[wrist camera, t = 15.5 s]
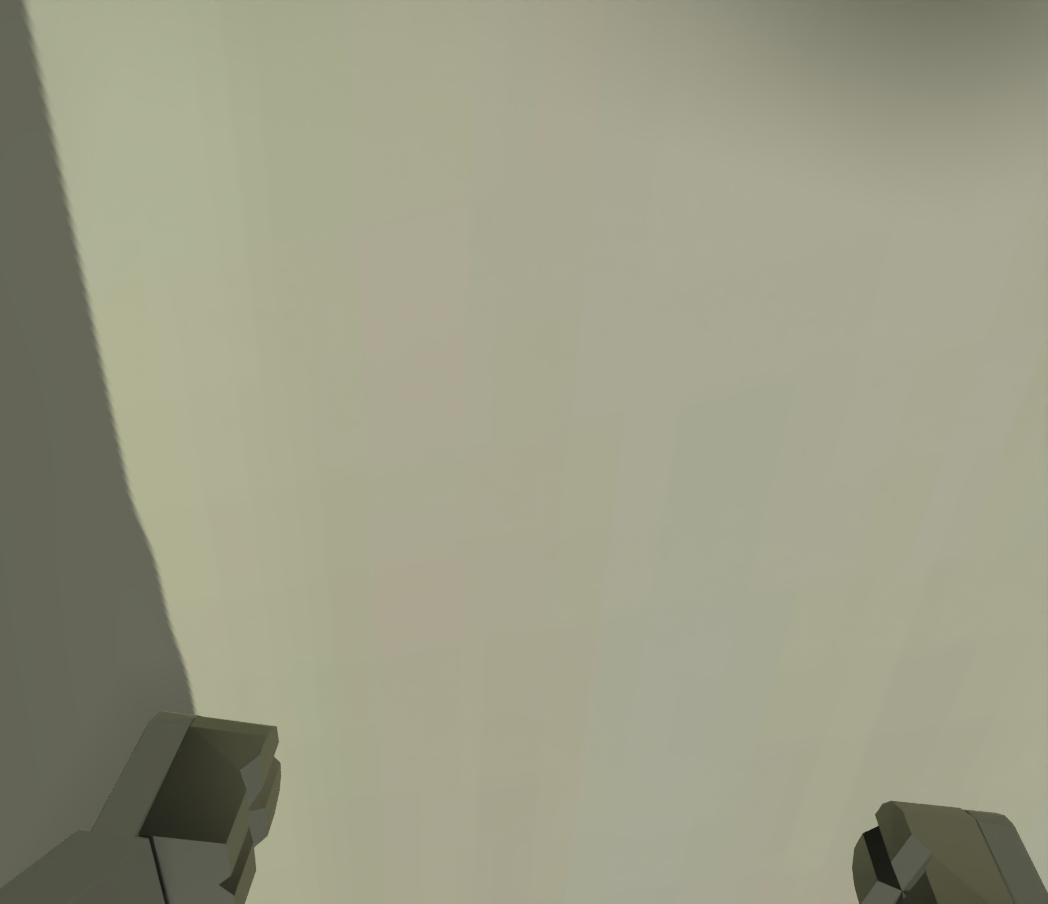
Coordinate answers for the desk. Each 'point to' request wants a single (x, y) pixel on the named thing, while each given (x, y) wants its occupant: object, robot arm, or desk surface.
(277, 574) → the desk surface
